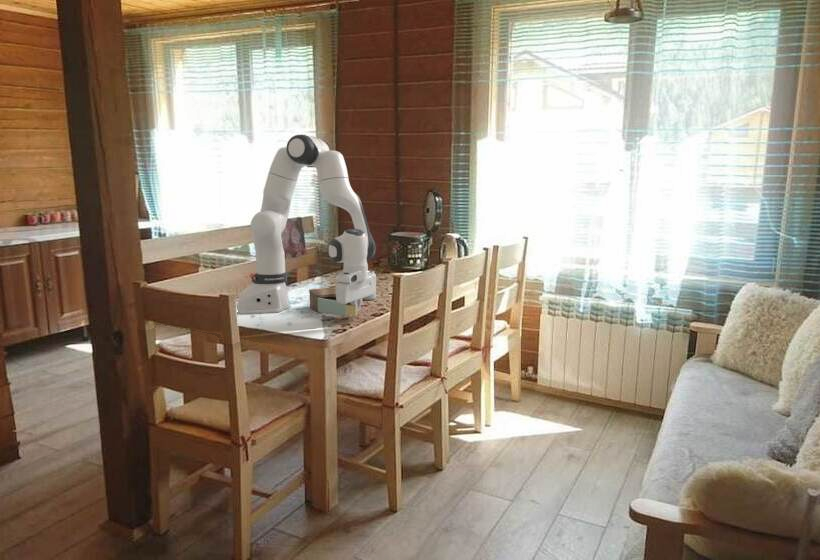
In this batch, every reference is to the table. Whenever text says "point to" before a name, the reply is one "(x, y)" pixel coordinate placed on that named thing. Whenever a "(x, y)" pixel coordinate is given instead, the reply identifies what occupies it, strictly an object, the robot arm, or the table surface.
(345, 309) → the green yellow-tipped stick
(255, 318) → the table surface
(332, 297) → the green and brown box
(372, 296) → the can
